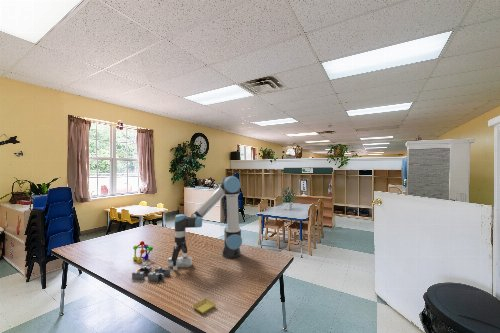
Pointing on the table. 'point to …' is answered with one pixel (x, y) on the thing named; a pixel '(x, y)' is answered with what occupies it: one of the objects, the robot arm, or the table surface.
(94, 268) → the table surface
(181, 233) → the robot arm
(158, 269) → the dark grey blocks
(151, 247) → the educational toy
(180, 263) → the link bar
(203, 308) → the yellow tray
